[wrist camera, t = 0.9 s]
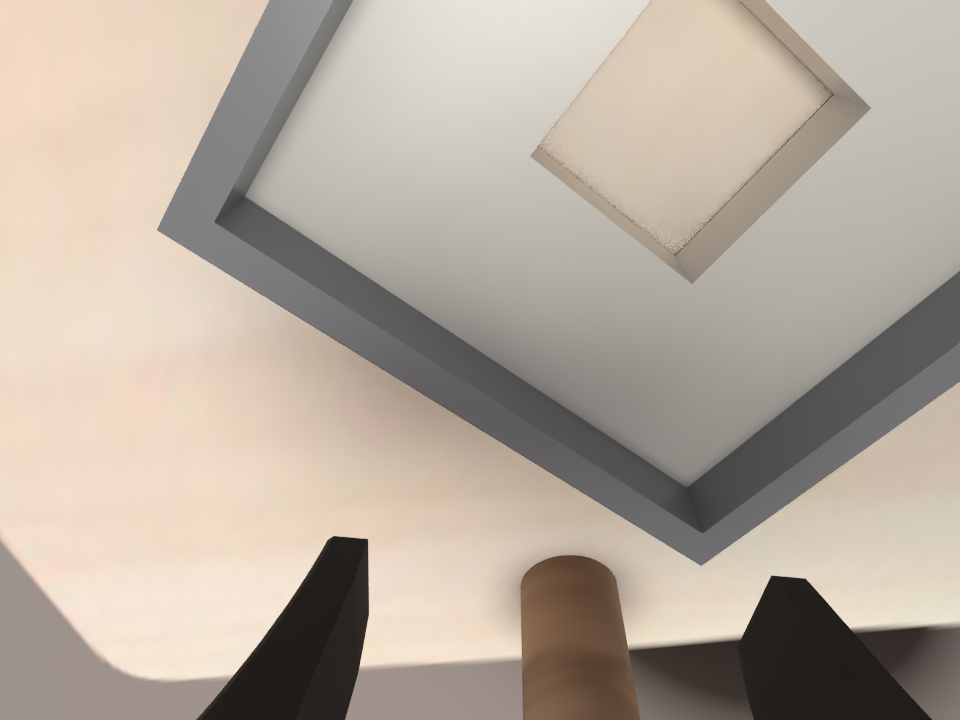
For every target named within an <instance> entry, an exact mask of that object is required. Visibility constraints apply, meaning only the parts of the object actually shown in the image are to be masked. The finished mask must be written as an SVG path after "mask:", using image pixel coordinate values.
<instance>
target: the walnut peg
mask: <svg viewBox="0 0 960 720" xmlns="http://www.w3.org/2000/svg"><path fill="white" fill-rule="evenodd" d="M521 633H522V683H523V684H522V685H523V720H640V714H639V709H638V703H637V697H636V692H635V686H634V680H633V675H632V669H631V663H630V658H629V652H628V646H627V640H626V635H625V629H624V623H623V618H622V612H621V606H620V601H619V595H618V589H617V584H616V580H615V577H614V575H613V574H612V572H611V571H610V570H609V569H608V568H607V567H606V566H604V565H603V564H601V563H599V562H597V561H595V560H592V559H589V558H586V557H580V556H559V557H554V558H550V559H547V560H545V561H542V562H540V563H538V564H537V565H535V566H534V567H532V568H531V569H530V570H529V571H528V572H527V573H526V574H525V576H524V578H523V580H522V583H521Z"/></svg>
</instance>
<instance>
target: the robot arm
mask: <svg viewBox="0 0 960 720" xmlns="http://www.w3.org/2000/svg"><path fill="white" fill-rule="evenodd" d="M368 616H369V587H368V539H359V538H348V537H337V536H333V537H332V538H330V539H329V540H328V541H327V542H326V544H325V546H324V548H323V550H322V551H321V553H320V555H319V557H318V558H317V560H316V562H315V563H314V565H313V567H312V568H311V570H310V571H309V573H308V575H307V576H306V578H305V579H304V581H303V582H302V584H301V585H300V587H299V588H298V590H297V591H296V593H295V594H294V596H293V597H292V599H291V600H290V602H289V603H288V605H287V606H286V607H285V609H284V610H283V612H282V613H281V614H280V616H279V617H278V618H277V620H276V621H275V623H274V624H273V625H272V627H271V628H270V629H269V631H268V632H267V634H266V635H265V636H264V638H263V639H262V641H261V642H260V643H259V644H258V646H257V647H256V648H255V650H254V651H253V652H252V653H251V655H250V656H249V657H248V658H247V660H246V661H245V662H244V663H243V665H242V666H241V667H240V668H239V670H238V671H237V672H236V673H235V675H234V676H233V677H232V678H231V680H230V681H229V682H228V683H227V685H226V686H225V687H224V688H223V690H222V691H221V692H220V693H219V694H218V696H217V697H216V698H215V699H214V700H213V702H212V703H211V704H210V705H209V706H208V707H207V708H206V710H205V711H204V712H203V713H202V714H201V715H200V716H199V718H198V719H197V720H345V718H346V714H347V710H348V707H349V703H350V700H351V696H352V693H353V689H354V686H355V682H356V678H357V675H358V671H359V665H360V660H361V655H362V649H363V644H364V638H365V633H366V627H367V621H368ZM738 651H739V657H740V662H741V667H742V672H743V677H744V682H745V686H746V690H747V695H748V699H749V704H750V708H751V711H752V714H753V717H754V720H932V719H931V718H930V717H929V716H928V715H927V714H926V713H925V712H924V711H923V710H922V708H921V707H920V706H919V705H918V704H917V703H916V702H915V701H914V700H913V699H912V698H911V697H910V696H909V695H908V693H907V692H906V691H905V690H904V689H903V688H902V687H901V686H900V685H899V684H898V683H897V681H896V680H895V679H894V678H893V677H892V676H891V675H890V674H889V673H888V672H887V670H886V669H885V668H884V667H883V666H882V665H881V664H880V663H879V661H878V660H877V659H876V658H875V657H874V656H873V655H872V654H871V652H870V651H869V650H868V649H867V648H866V647H865V646H864V644H863V643H862V642H861V641H860V640H859V639H858V638H857V637H856V635H855V634H854V633H853V632H852V631H851V630H850V628H849V627H848V626H847V625H846V624H845V623H844V622H843V620H842V619H841V618H840V617H839V616H838V615H837V614H836V612H835V611H834V610H833V609H832V608H831V607H830V606H829V604H828V603H827V602H826V601H825V600H824V599H823V598H822V596H821V595H820V594H819V593H818V592H817V591H816V590H815V589H814V587H813V586H812V585H811V584H810V583H809V582H808V581H807V580H806V579H802V578H791V577H780V576H771V578H770V580H769V582H768V584H767V586H766V588H765V590H764V593H763V595H762V597H761V599H760V601H759V603H758V605H757V607H756V609H755V611H754V614H753V616H752V618H751V620H750V622H749V624H748V626H747V628H746V630H745V632H744V634H743V637H742V639H741V641H740V643H739V645H738Z"/></svg>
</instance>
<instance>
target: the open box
mask: <svg viewBox="0 0 960 720" xmlns="http://www.w3.org/2000/svg"><path fill="white" fill-rule="evenodd" d="M740 1H741V2H742V3H743V4H744V5H745V6H746V7H747V8H748V9H749V10H750V11H751V12H752V13H753V14H754V15H755V16H756V17H757V18H758V19H759V20H760V21H761V22H762V23H763V24H764V25H765V26H766V27H767V28H768V29H769V30H770V31H771V32H772V33H773V34H774V35H775V36H776V37H777V38H778V39H779V40H780V41H781V42H782V43H783V44H784V45H785V46H786V47H787V48H788V49H789V50H790V51H791V52H792V53H793V54H794V55H795V56H796V57H797V58H798V59H799V60H800V61H801V62H802V63H803V64H804V65H805V66H806V67H807V68H808V69H809V70H810V71H811V72H812V73H813V74H814V75H815V76H816V77H817V78H818V79H819V80H820V81H821V82H822V83H823V84H824V85H825V86H826V87H827V88H828V89H829V90H830V91H831V92H832V93H833V94H834V95H833V96H832V97H831V98H830V99H829V100H828V101H827V102H826V103H825V104H824V105H823V106H822V107H821V108H820V109H819V110H818V111H817V112H816V113H815V114H814V115H813V116H812V117H811V118H810V119H809V120H808V121H807V122H806V123H805V124H804V125H803V126H802V127H801V128H800V129H799V130H798V131H797V132H796V133H795V134H794V135H793V137H792V138H791V139H790V140H789V141H788V142H787V143H786V144H785V145H784V146H783V147H782V148H781V149H780V150H779V151H778V152H777V153H776V154H775V155H774V156H773V157H772V158H771V159H770V160H769V161H768V162H767V163H766V164H765V165H764V166H763V167H762V168H761V169H760V170H759V171H758V172H757V173H756V174H755V175H754V176H753V177H752V178H751V179H750V180H749V181H748V182H747V184H746V185H745V186H744V187H743V188H742V189H741V190H740V191H739V192H738V193H737V194H736V195H735V196H734V197H733V198H732V199H731V200H730V201H729V202H728V203H727V204H726V205H725V206H724V207H723V208H722V209H721V210H720V211H719V212H718V213H717V214H716V215H715V216H714V217H713V218H712V219H711V220H710V221H709V222H708V223H707V224H706V225H705V226H704V227H703V228H702V229H701V230H700V232H699V233H698V234H697V235H696V236H695V237H694V238H693V239H692V240H691V241H690V242H689V243H688V244H687V245H686V246H685V247H684V248H683V249H682V250H681V251H680V252H679V253H678V254H677V255H676V256H675V255H674V254H672V253H671V252H670V251H669V250H667V249H666V248H665V247H664V246H662V245H661V244H660V243H659V242H657V241H656V240H655V239H654V238H652V237H651V236H650V235H649V234H647V233H646V232H645V231H644V230H642V229H641V228H640V227H639V226H637V225H636V224H635V223H633V222H632V221H631V220H630V219H628V218H627V217H626V216H625V215H623V214H622V213H621V212H620V211H618V210H617V209H616V208H615V207H613V206H612V205H611V204H610V203H608V202H607V201H606V200H605V199H603V198H602V197H601V196H600V195H598V194H597V193H596V192H595V191H593V190H592V189H591V188H590V187H588V186H587V185H586V184H585V183H583V182H582V181H581V180H580V179H578V178H577V177H576V176H575V175H573V174H572V173H571V172H570V171H568V170H567V169H566V168H565V167H563V166H562V165H561V164H560V163H558V162H557V161H556V160H555V159H553V158H552V157H551V156H550V155H548V154H547V153H546V152H545V151H543V150H542V149H541V148H540V147H538V145H539V144H540V142H541V141H542V140H543V139H544V137H545V136H546V135H547V133H548V132H549V131H550V130H551V128H552V127H553V126H554V124H555V123H556V122H557V121H558V119H559V118H560V117H561V115H562V114H563V113H564V111H565V110H566V109H567V108H568V106H569V105H570V104H571V102H572V101H573V100H574V99H575V97H576V96H577V95H578V93H579V92H580V91H581V90H582V88H583V87H584V86H585V84H586V83H587V82H588V80H589V79H590V78H591V77H592V75H593V74H594V73H595V71H596V70H597V69H598V68H599V66H600V65H601V64H602V62H603V61H604V60H605V59H606V57H607V56H608V55H609V53H610V52H611V51H612V49H613V48H614V47H615V46H616V44H617V43H618V42H619V40H620V39H621V38H622V37H623V35H624V34H625V33H626V31H627V30H628V29H629V28H630V26H631V25H632V24H633V22H634V21H635V20H636V19H637V17H638V16H639V15H640V13H641V12H642V11H643V9H644V8H645V7H646V6H647V4H648V3H649V2H650V0H270V1H269V3H268V5H267V7H266V9H265V11H264V13H263V15H262V17H261V19H260V21H259V23H258V25H257V27H256V29H255V31H254V33H253V35H252V37H251V39H250V41H249V43H248V45H247V47H246V49H245V51H244V54H243V56H242V58H241V60H240V62H239V64H238V66H237V68H236V70H235V72H234V74H233V76H232V78H231V80H230V82H229V84H228V86H227V88H226V90H225V92H224V94H223V96H222V98H221V100H220V102H219V104H218V106H217V109H216V111H215V113H214V115H213V117H212V119H211V121H210V123H209V125H208V127H207V129H206V131H205V133H204V135H203V137H202V139H201V141H200V143H199V145H198V147H197V149H196V151H195V153H194V155H193V157H192V159H191V161H190V164H189V166H188V168H187V170H186V172H185V174H184V176H183V178H182V180H181V182H180V184H179V186H178V188H177V190H176V192H175V194H174V196H173V198H172V200H171V202H170V204H169V206H168V208H167V210H166V212H165V214H164V216H163V219H162V221H161V223H160V225H159V227H158V229H157V230H158V231H159V232H161V233H162V234H164V235H166V236H167V237H169V238H171V239H172V240H174V241H175V242H177V243H179V244H180V245H182V246H184V247H185V248H187V249H188V250H190V251H192V252H193V253H195V254H197V255H198V256H200V257H201V258H203V259H205V260H206V261H208V262H210V263H211V264H213V265H214V266H216V267H218V268H219V269H221V270H222V271H224V272H226V273H227V274H229V275H231V276H232V277H234V278H235V279H237V280H239V281H240V282H242V283H244V284H245V285H247V286H248V287H250V288H252V289H253V290H255V291H257V292H258V293H260V294H261V295H263V296H265V297H266V298H268V299H269V300H271V301H273V302H274V303H276V304H278V305H279V306H281V307H282V308H284V309H286V310H287V311H289V312H291V313H292V314H294V315H295V316H297V317H299V318H300V319H302V320H304V321H305V322H307V323H308V324H310V325H312V326H313V327H315V328H316V329H318V330H320V331H321V332H323V333H325V334H326V335H328V336H329V337H331V338H333V339H334V340H336V341H338V342H339V343H341V344H342V345H344V346H346V347H347V348H349V349H351V350H352V351H354V352H355V353H357V354H359V355H360V356H362V357H363V358H365V359H367V360H368V361H370V362H372V363H373V364H375V365H376V366H378V367H380V368H381V369H383V370H385V371H386V372H388V373H389V374H391V375H393V376H394V377H396V378H398V379H399V380H401V381H402V382H404V383H406V384H407V385H409V386H411V387H412V388H414V389H415V390H417V391H419V392H420V393H422V394H423V395H425V396H427V397H428V398H430V399H432V400H433V401H435V402H436V403H438V404H440V405H441V406H443V407H445V408H446V409H448V410H449V411H451V412H453V413H454V414H456V415H458V416H459V417H461V418H462V419H464V420H466V421H467V422H469V423H470V424H472V425H474V426H475V427H477V428H479V429H480V430H482V431H483V432H485V433H487V434H488V435H490V436H492V437H493V438H495V439H496V440H498V441H500V442H501V443H503V444H505V445H506V446H508V447H509V448H511V449H513V450H514V451H516V452H517V453H519V454H521V455H522V456H524V457H526V458H527V459H529V460H530V461H532V462H534V463H535V464H537V465H539V466H540V467H542V468H543V469H545V470H547V471H548V472H550V473H552V474H553V475H555V476H556V477H558V478H560V479H561V480H563V481H564V482H566V483H568V484H569V485H571V486H573V487H574V488H576V489H577V490H579V491H581V492H582V493H584V494H586V495H587V496H589V497H590V498H592V499H594V500H595V501H597V502H599V503H600V504H602V505H603V506H605V507H607V508H608V509H610V510H612V511H613V512H615V513H616V514H618V515H620V516H621V517H623V518H624V519H626V520H628V521H629V522H631V523H633V524H634V525H636V526H637V527H639V528H641V529H642V530H644V531H646V532H647V533H649V534H650V535H652V536H654V537H655V538H657V539H659V540H660V541H662V542H663V543H665V544H667V545H668V546H670V547H671V548H673V549H675V550H676V551H678V552H680V553H681V554H683V555H684V556H686V557H688V558H689V559H691V560H693V561H694V562H696V563H697V564H699V565H701V566H702V565H703V564H704V563H706V562H707V561H709V560H710V559H711V558H713V557H714V556H716V555H717V554H718V553H720V552H721V551H723V550H724V549H725V548H727V547H728V546H730V545H731V544H732V543H734V542H735V541H737V540H738V539H740V538H741V537H742V536H744V535H745V534H747V533H748V532H749V531H751V530H752V529H754V528H755V527H756V526H758V525H759V524H761V523H762V522H763V521H765V520H766V519H768V518H769V517H770V516H772V515H773V514H775V513H776V512H777V511H779V510H780V509H782V508H783V507H784V506H786V505H787V504H789V503H790V502H791V501H793V500H794V499H796V498H797V497H798V496H800V495H801V494H803V493H804V492H805V491H807V490H808V489H810V488H811V487H812V486H814V485H815V484H817V483H818V482H819V481H821V480H822V479H824V478H825V477H826V476H828V475H829V474H831V473H832V472H833V471H835V470H836V469H838V468H839V467H840V466H842V465H843V464H845V463H846V462H847V461H849V460H850V459H852V458H853V457H854V456H856V455H857V454H859V453H860V452H861V451H863V450H864V449H866V448H867V447H868V446H870V445H871V444H873V443H874V442H875V441H877V440H878V439H880V438H881V437H882V436H884V435H885V434H887V433H888V432H889V431H891V430H892V429H894V428H895V427H896V426H898V425H899V424H901V423H902V422H903V421H905V420H906V419H908V418H909V417H910V416H912V415H913V414H915V413H916V412H917V411H919V410H920V409H922V408H923V407H924V406H926V405H927V404H929V403H930V402H931V401H933V400H934V399H936V398H937V397H938V396H940V395H941V394H943V393H944V392H945V391H947V390H948V389H950V388H951V387H953V386H954V385H955V384H957V383H958V382H960V0H740Z"/></svg>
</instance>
